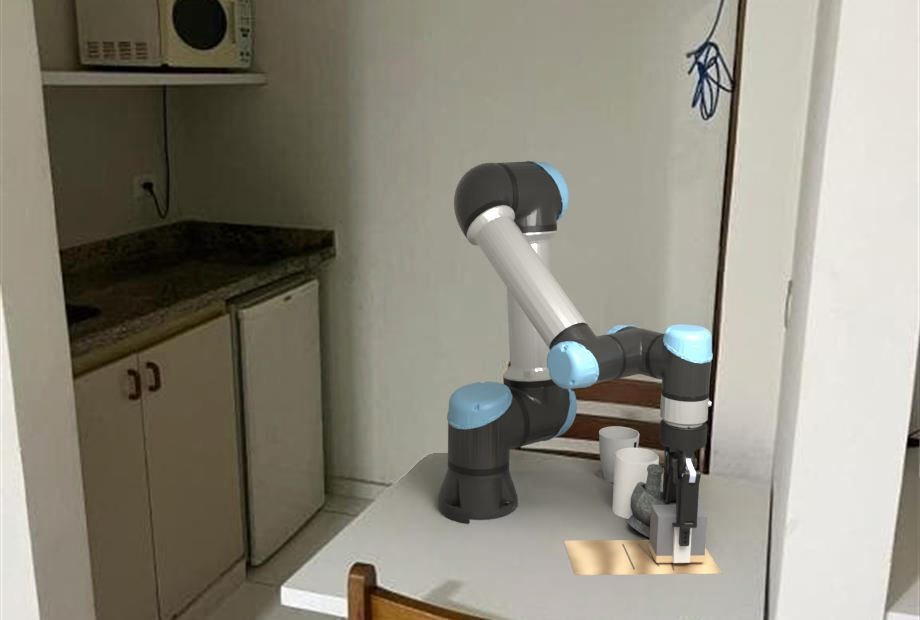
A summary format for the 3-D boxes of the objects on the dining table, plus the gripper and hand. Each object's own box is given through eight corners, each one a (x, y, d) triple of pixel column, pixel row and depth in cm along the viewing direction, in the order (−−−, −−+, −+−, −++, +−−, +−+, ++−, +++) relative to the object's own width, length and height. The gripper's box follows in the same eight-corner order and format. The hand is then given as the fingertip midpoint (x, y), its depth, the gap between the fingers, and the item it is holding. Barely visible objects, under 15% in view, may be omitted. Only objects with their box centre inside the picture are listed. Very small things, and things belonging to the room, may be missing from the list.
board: (574, 580, 149) (574, 574, 148) (563, 545, 160) (563, 540, 160) (721, 578, 150) (722, 573, 149) (699, 544, 161) (700, 539, 161)
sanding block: (656, 562, 152) (658, 517, 150) (649, 548, 156) (651, 504, 155) (704, 562, 152) (707, 516, 150) (695, 548, 157) (698, 504, 155)
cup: (636, 488, 185) (639, 441, 183) (595, 484, 187) (598, 438, 184) (637, 473, 193) (639, 427, 191) (598, 469, 194) (600, 424, 192)
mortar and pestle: (645, 522, 170) (677, 466, 169) (677, 550, 162) (711, 492, 161) (603, 508, 164) (636, 450, 163) (634, 536, 156) (669, 476, 155)
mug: (642, 497, 181) (645, 439, 178) (662, 523, 169) (666, 462, 167) (601, 498, 180) (604, 440, 177) (619, 525, 168) (622, 464, 166)
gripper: (724, 439, 141) (715, 579, 145) (691, 404, 158) (684, 530, 163) (675, 439, 140) (667, 580, 145) (647, 404, 158) (642, 530, 163)
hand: (676, 553), depth 154 cm, fingers closed on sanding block, 5 cm apart
